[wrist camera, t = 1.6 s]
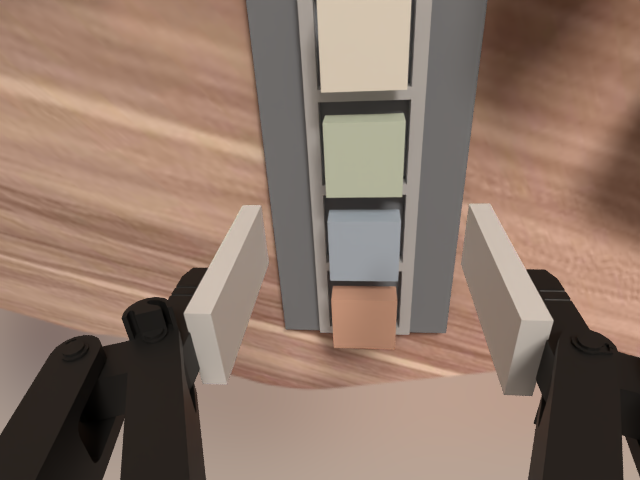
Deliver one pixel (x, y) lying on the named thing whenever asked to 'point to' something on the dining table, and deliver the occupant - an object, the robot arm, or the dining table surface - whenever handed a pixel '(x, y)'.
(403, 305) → the keypad
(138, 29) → the dining table surface
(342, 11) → the key cream
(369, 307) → the key terracotta
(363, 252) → the key blue
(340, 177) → the key sage
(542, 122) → the dining table surface
